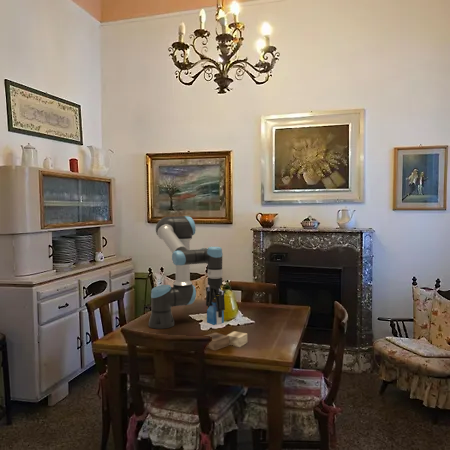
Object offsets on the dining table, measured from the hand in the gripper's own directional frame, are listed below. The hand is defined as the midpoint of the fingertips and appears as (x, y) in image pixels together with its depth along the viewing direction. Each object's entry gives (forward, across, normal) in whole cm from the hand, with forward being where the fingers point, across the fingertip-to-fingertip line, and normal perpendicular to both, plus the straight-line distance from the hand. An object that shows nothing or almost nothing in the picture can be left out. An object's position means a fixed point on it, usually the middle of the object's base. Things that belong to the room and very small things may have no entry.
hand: (215, 321), depth 220 cm
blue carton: (+1, 0, 0) cm, 1 cm away
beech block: (+13, +4, +11) cm, 17 cm away
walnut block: (+13, 0, 0) cm, 13 cm away
